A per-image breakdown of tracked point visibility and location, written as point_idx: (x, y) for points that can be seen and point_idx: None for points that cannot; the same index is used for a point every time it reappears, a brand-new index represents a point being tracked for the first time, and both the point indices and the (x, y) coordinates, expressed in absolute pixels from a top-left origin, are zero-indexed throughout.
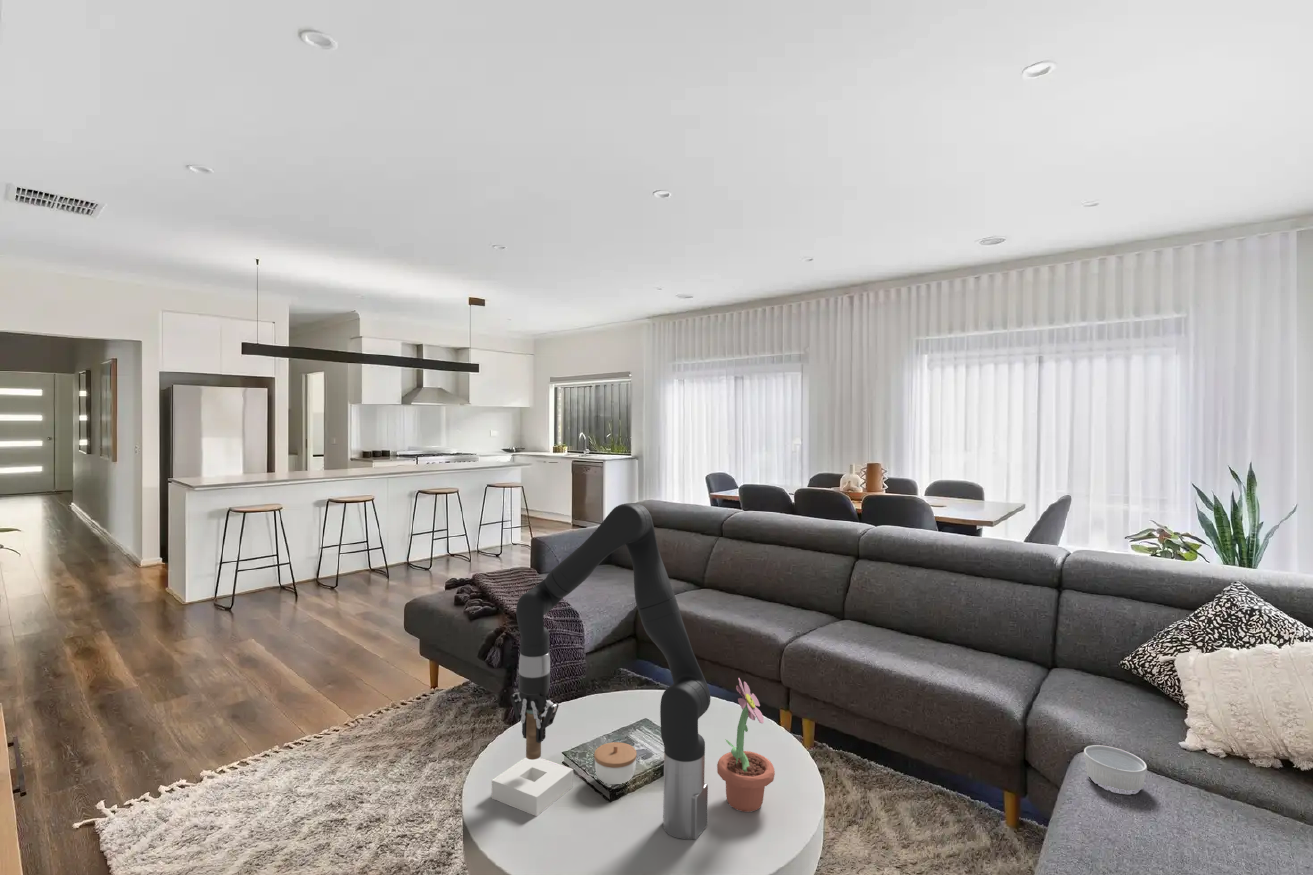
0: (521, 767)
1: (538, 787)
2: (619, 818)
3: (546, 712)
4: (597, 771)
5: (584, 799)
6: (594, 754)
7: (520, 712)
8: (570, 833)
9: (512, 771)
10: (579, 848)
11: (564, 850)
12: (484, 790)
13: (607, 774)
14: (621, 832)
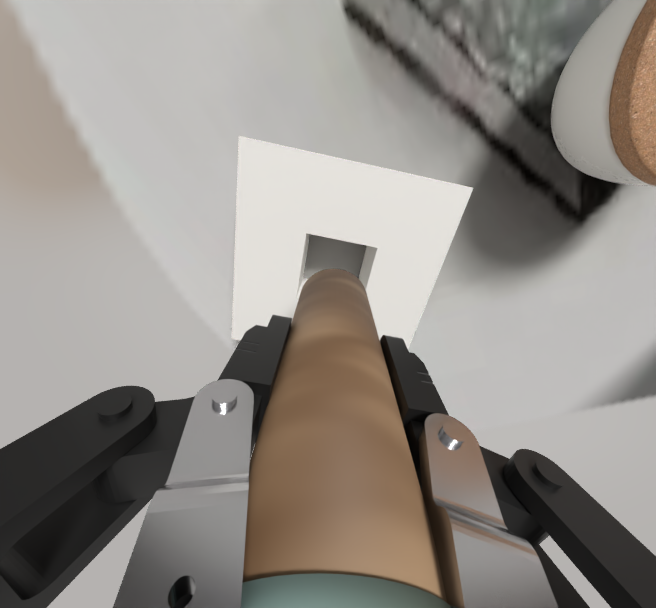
0: (271, 248)
1: (385, 330)
2: (607, 287)
3: (535, 564)
4: (583, 163)
5: (496, 239)
6: (627, 117)
7: (103, 482)
8: (485, 364)
9: (257, 280)
10: (513, 393)
11: (483, 403)
12: (207, 289)
13: (638, 185)
14: (609, 331)
